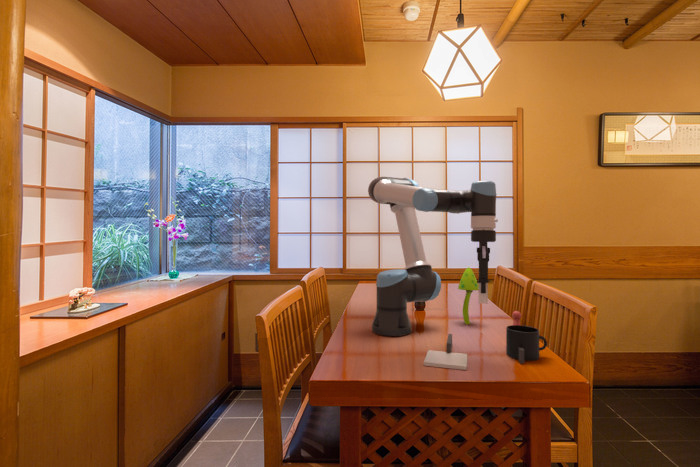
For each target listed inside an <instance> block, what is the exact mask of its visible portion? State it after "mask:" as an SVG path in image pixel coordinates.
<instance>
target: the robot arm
mask: <svg viewBox="0 0 700 467" xmlns="http://www.w3.org/2000/svg"><path fill="white" fill-rule="evenodd" d="M367 192H368V197H369V198H370V199H371V200H372V202H375V203H377V204H382V205H389V208H390V211H391V212H392V213H393V214H395V215H394V216H395V219H396V226H397V228H398V229H397V230H398V233H399V234H398V235H399V238H400V244H401V248H402V255H403V259H404V264H405V267H404V268H403V269H401V268H399V269H398V268H397V269H387V270H383V271H380V272H379V273H378V274H377V275H376V283H375V285H376V310H375V315H374V318H373V321H372V324H371V331H372V332H373V333H375V334H377V335H381V336H389V337H390V336H393V337H396V336H406V335H409V334H411V333H412V324H411V320H410V318H409V314H408V307H407V306H408V303H417V302H428V301H433V300H435V299H436V298H437V297H438V296H439V295H440V292H441V290H442V280H441V276H440V274H438V272H436V271H433V268H432V265H431V264H430V263H428V262H427V259H426V253H425V250H424V245H423V241H422V240H423V239H422V237H421V236H422V234H421V231H420V226H419V223H418V218H417V214H416V210H417V211H418V212H423V213H428V212H433V213H434V212H435V213H439V212H440V213H448V214H463V213H471V214H470V228H471V229H472V230H471V232H470V240H471V242H473V243H479V244H478V245H479V246H478V247H476V253H477V261H478V277H477V278H478V280H477V283H478V286H479V290H478V304H488V301H489V300H488V299H489V298H488V295H489V294H488V292H489V290H488V287H489V286H488V284H489V283H490V280H489V262H490V253H491V247H489V246H488V243H495V242H496V240H497V231H496V230H494V229H496V227H497V226H496V225H497V224H496V223H498V221H499V220H498V218H497V217H496V215H497V212H496V211H497V207H496V206H497V186H496V183H495V182H494V181H491V180H477V181H473V182H472V183H471V186H470V189H467V190H466V189H465V190H454V189H453V190H452V189H451V190H450V189H439V188H438V189H437V188H429V187H422V186H420V185H419V184H418V182H417V181H416V180H414V179H411V178H406V177H402V178H400V177H391V176H380V177H376V178H374V179H373V180H371V182H370V183H369V185H368V189H367Z"/></svg>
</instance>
